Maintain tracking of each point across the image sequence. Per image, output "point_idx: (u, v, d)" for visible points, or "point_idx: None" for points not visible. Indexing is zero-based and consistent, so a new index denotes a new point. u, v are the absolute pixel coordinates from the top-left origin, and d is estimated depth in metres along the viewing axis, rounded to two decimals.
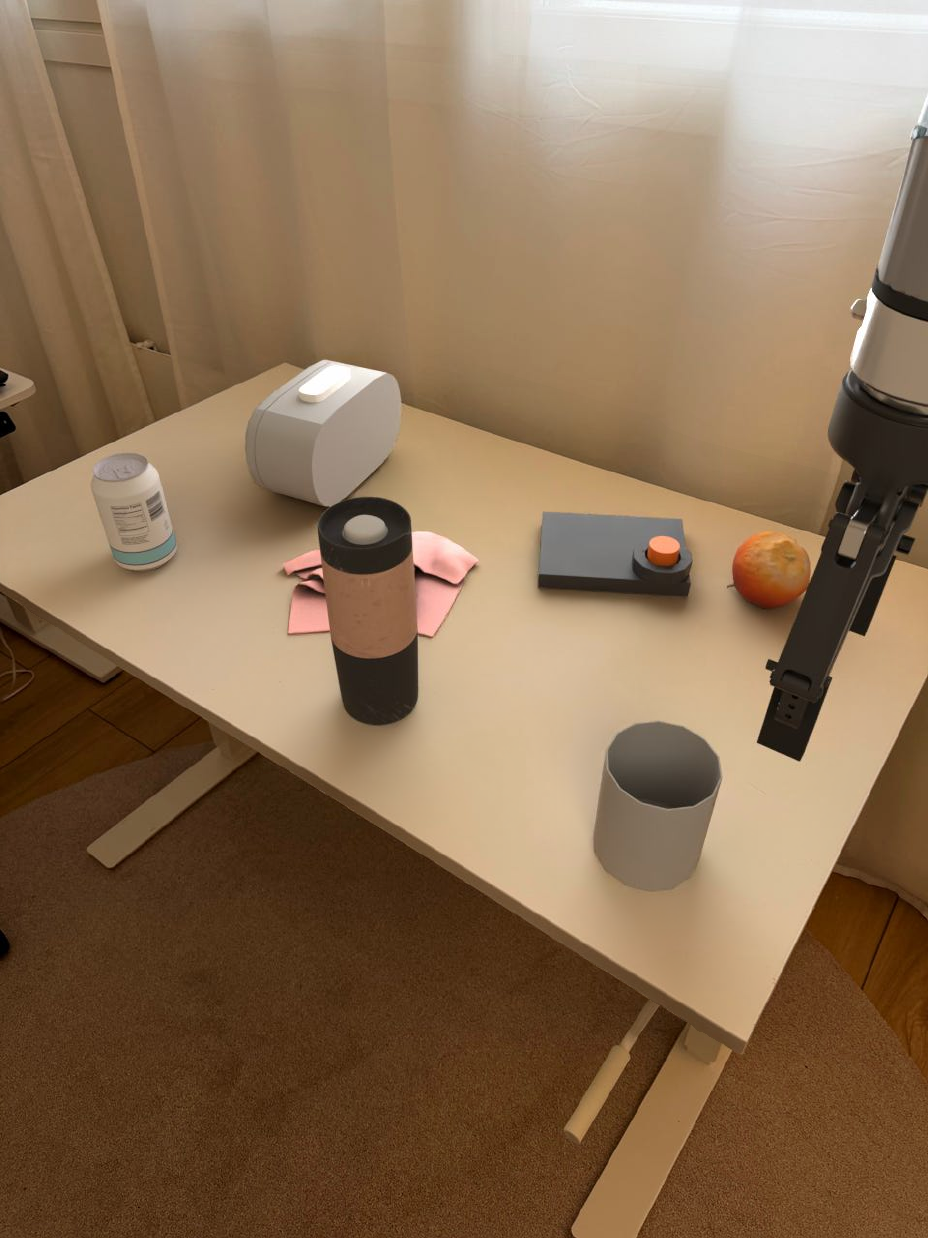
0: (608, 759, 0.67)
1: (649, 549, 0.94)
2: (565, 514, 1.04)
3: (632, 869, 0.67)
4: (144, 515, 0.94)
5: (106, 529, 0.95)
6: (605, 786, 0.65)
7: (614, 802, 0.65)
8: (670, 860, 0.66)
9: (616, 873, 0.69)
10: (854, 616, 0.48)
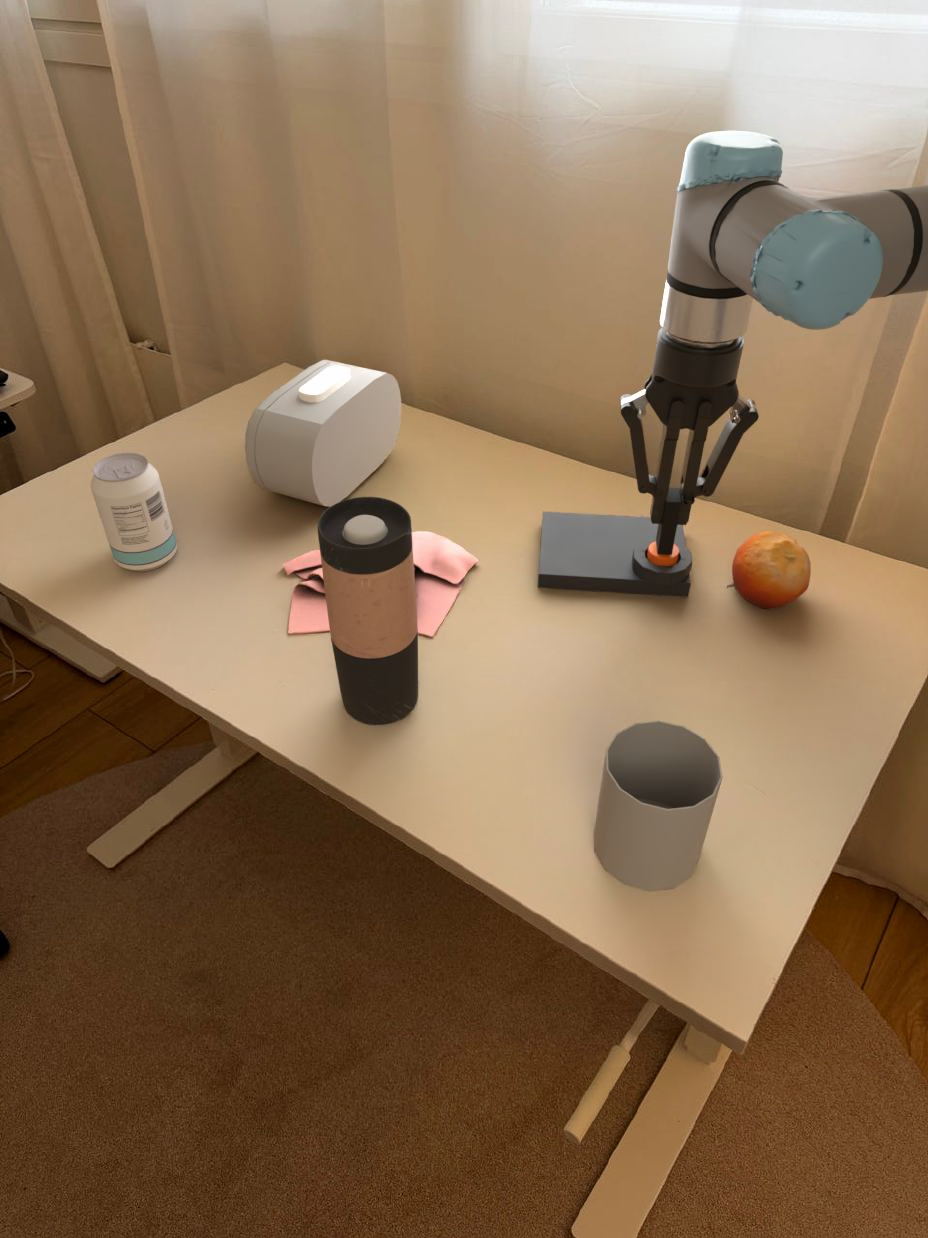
0: (608, 759, 0.67)
1: (648, 554, 0.94)
2: (565, 514, 1.04)
3: (632, 869, 0.67)
4: (144, 515, 0.94)
5: (106, 529, 0.95)
6: (605, 786, 0.65)
7: (614, 802, 0.65)
8: (670, 860, 0.66)
9: (616, 873, 0.69)
10: (668, 461, 0.86)
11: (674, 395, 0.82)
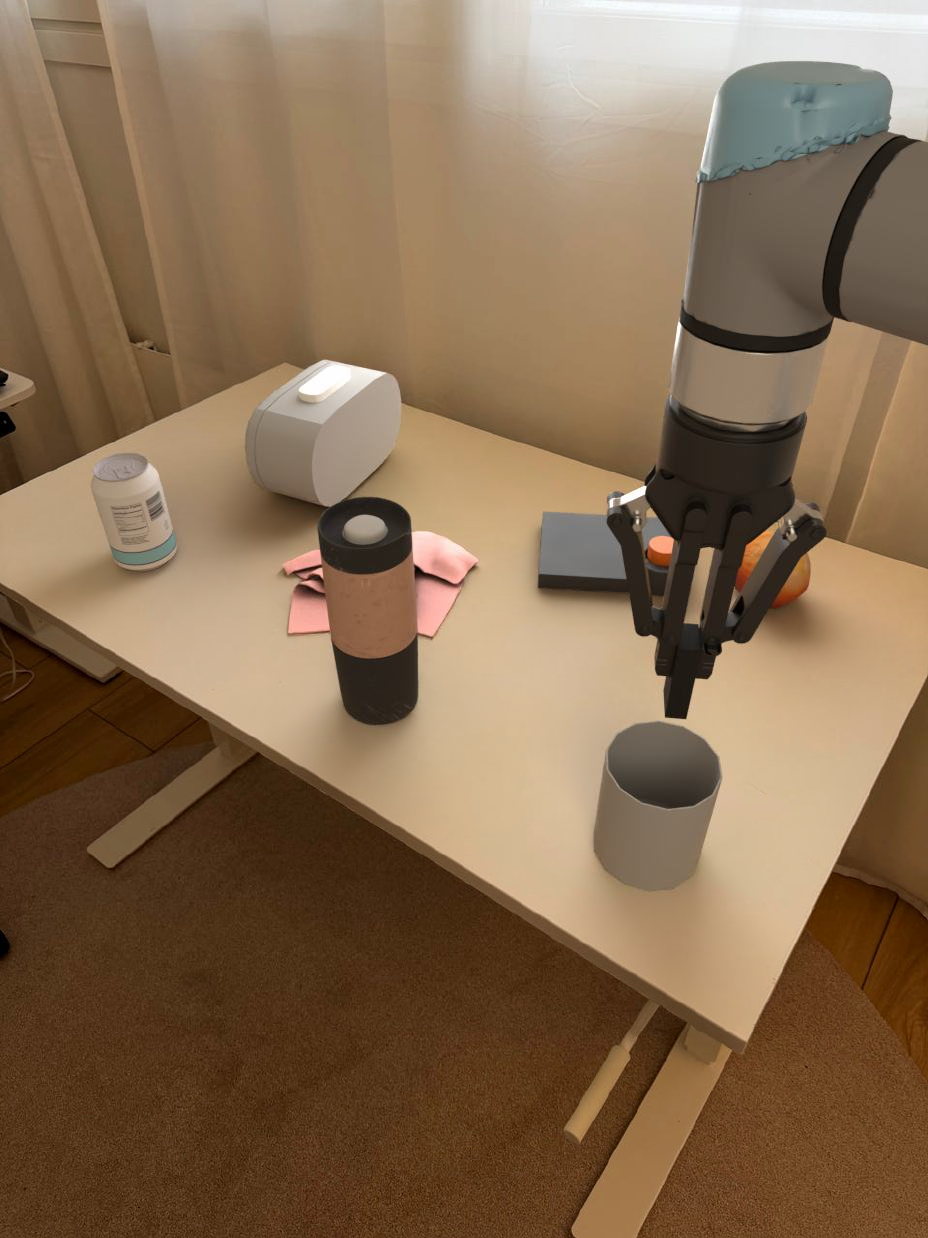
0: (608, 759, 0.67)
1: (649, 549, 0.94)
2: (565, 514, 1.04)
3: (632, 869, 0.67)
4: (144, 515, 0.94)
5: (106, 529, 0.95)
6: (605, 786, 0.65)
7: (614, 802, 0.65)
8: (670, 860, 0.66)
9: (616, 873, 0.69)
10: (681, 593, 0.56)
11: (691, 499, 0.51)
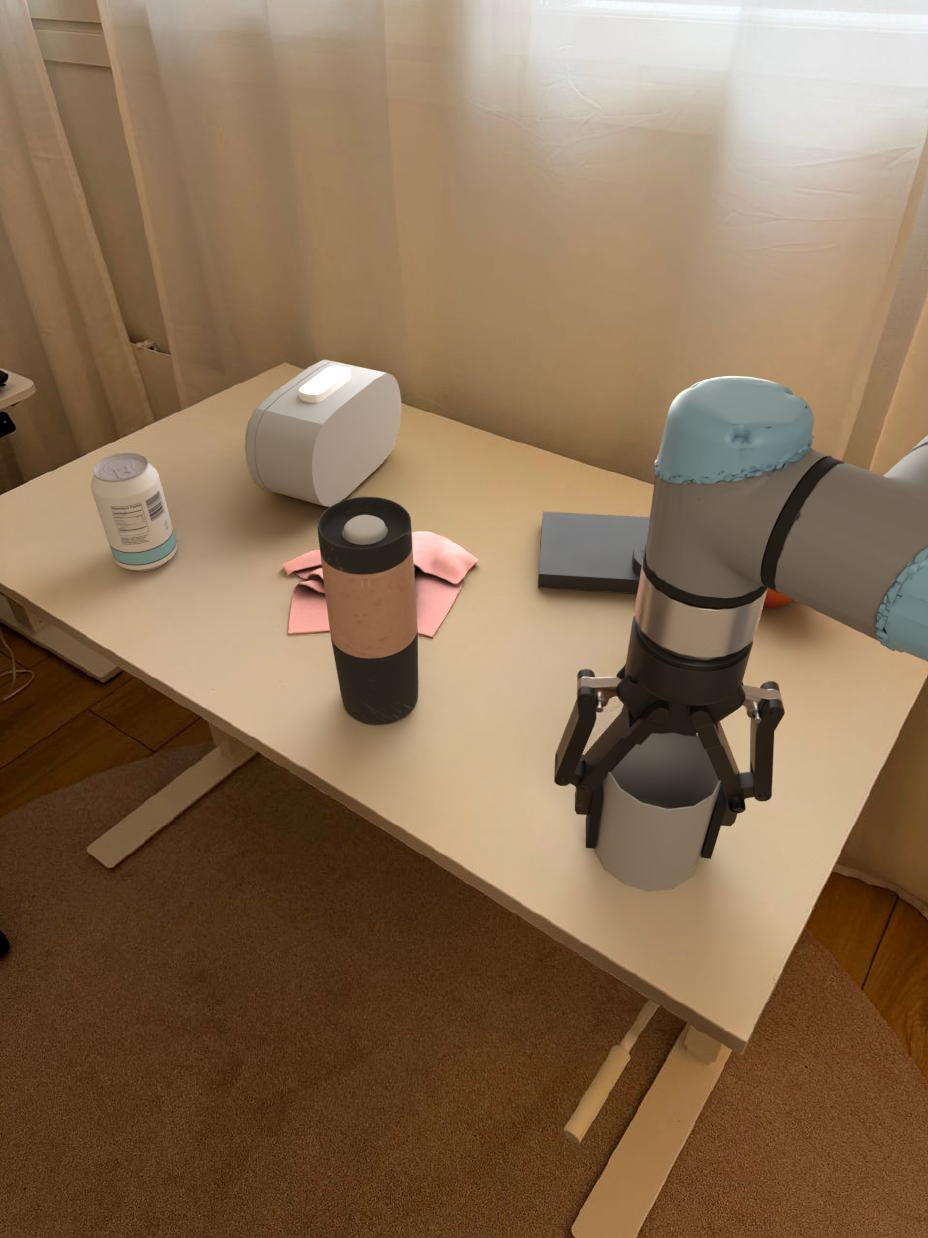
0: None
1: None
2: (565, 514, 1.04)
3: (632, 869, 0.67)
4: (144, 515, 0.94)
5: (106, 529, 0.95)
6: (605, 786, 0.65)
7: (614, 802, 0.65)
8: (670, 860, 0.66)
9: (616, 873, 0.69)
10: (614, 759, 0.63)
11: (661, 697, 0.59)
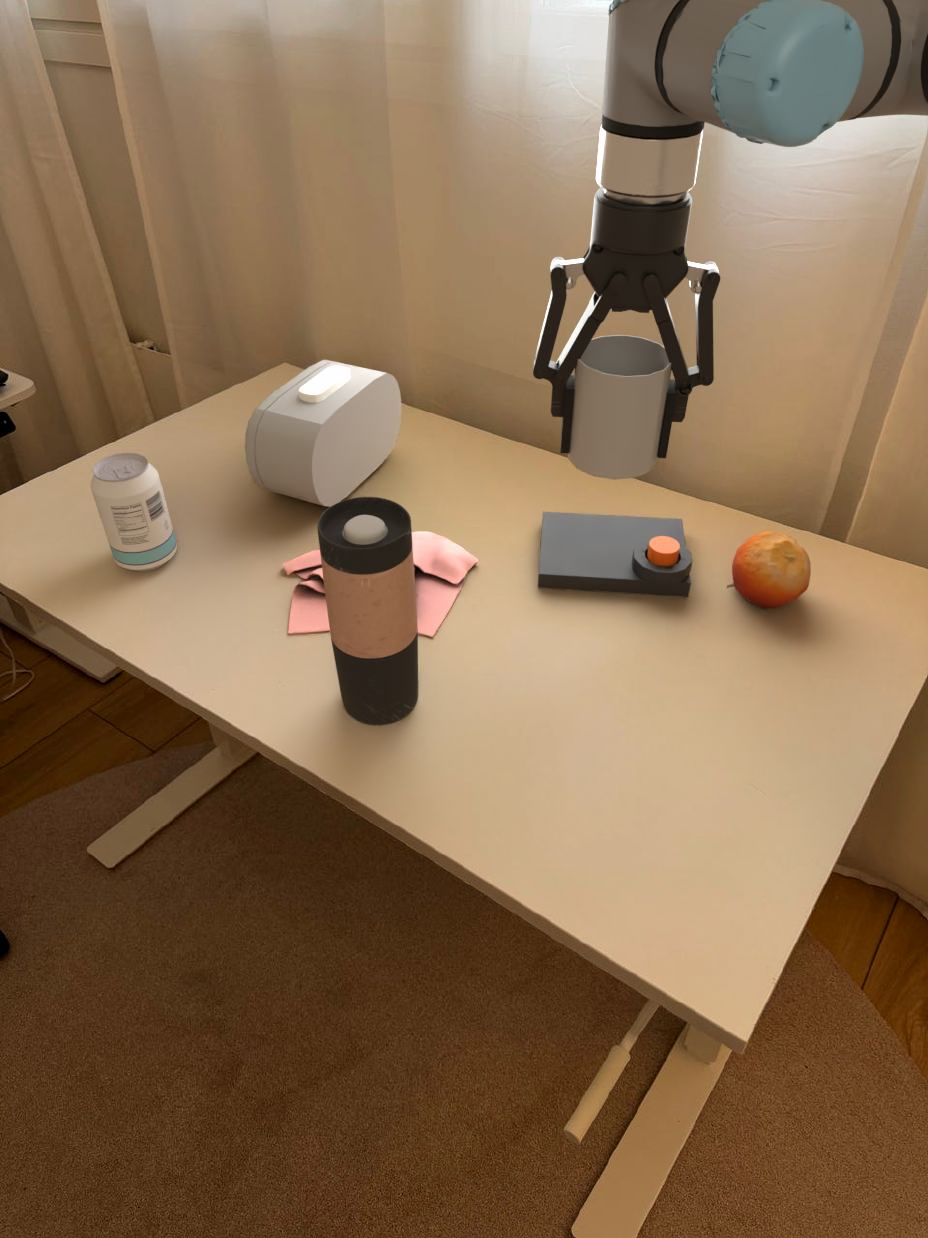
0: None
1: (649, 549, 0.94)
2: (565, 514, 1.04)
3: (599, 455, 0.80)
4: (144, 515, 0.94)
5: (106, 529, 0.95)
6: (575, 377, 0.78)
7: (583, 385, 0.77)
8: (630, 441, 0.79)
9: (586, 466, 0.81)
10: (582, 343, 0.76)
11: (619, 267, 0.72)
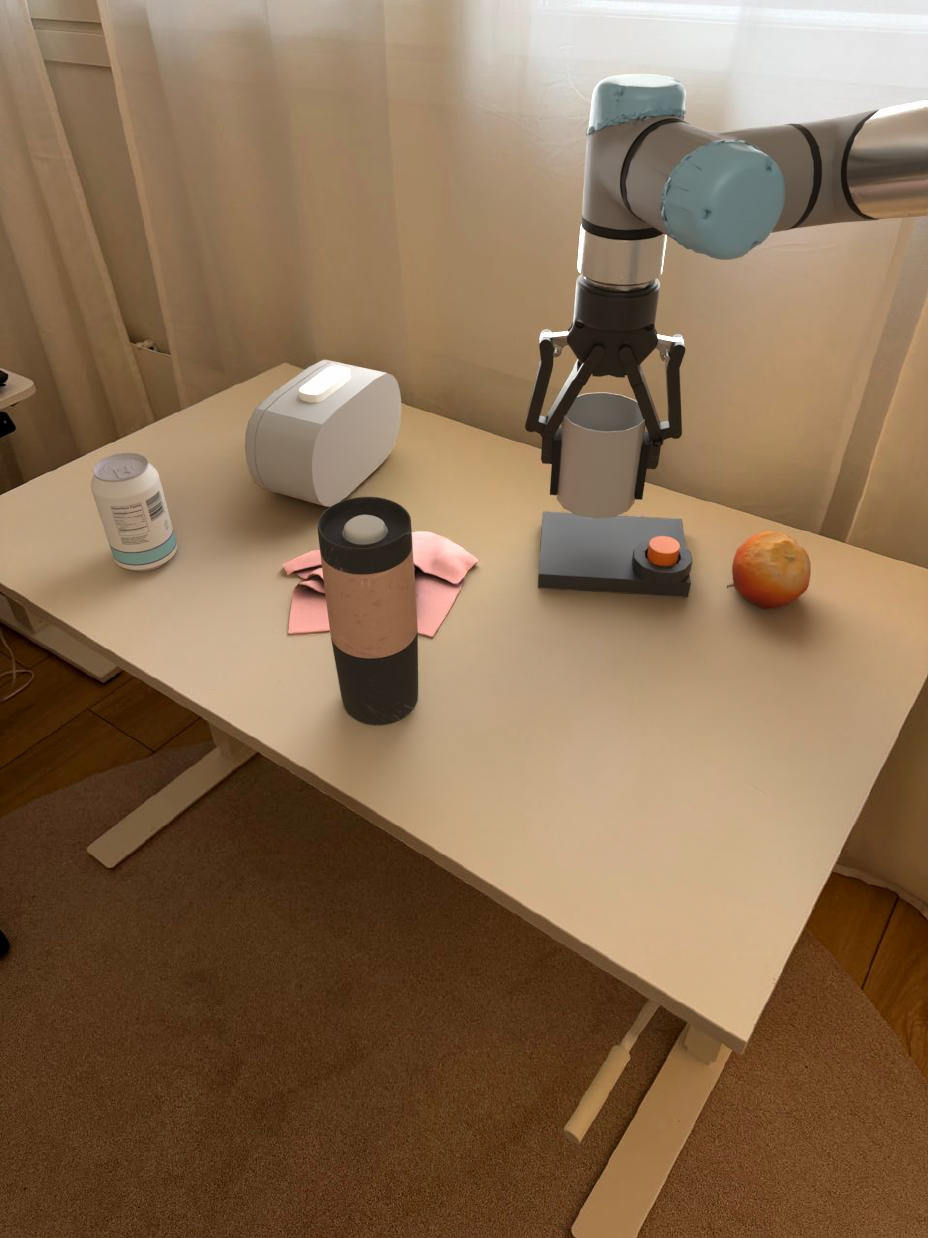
0: None
1: (649, 549, 0.94)
2: (565, 514, 1.04)
3: (582, 498, 0.91)
4: (144, 515, 0.94)
5: (106, 529, 0.95)
6: (562, 430, 0.90)
7: (568, 438, 0.89)
8: (609, 486, 0.90)
9: (571, 507, 0.93)
10: (567, 402, 0.88)
11: (598, 340, 0.83)
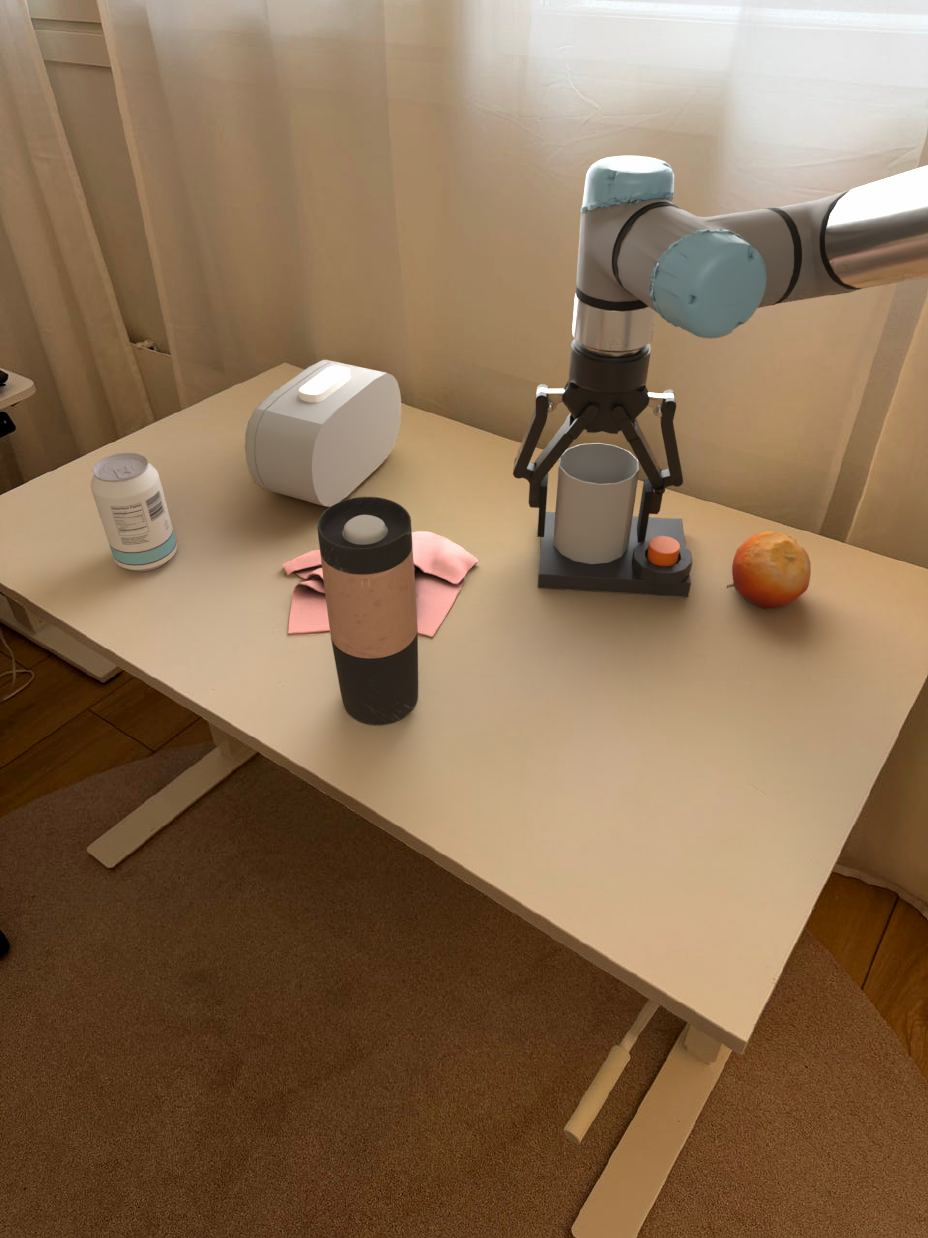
0: (561, 467, 0.95)
1: (649, 549, 0.94)
2: None
3: (578, 544, 0.95)
4: (144, 515, 0.94)
5: (106, 529, 0.95)
6: (558, 481, 0.94)
7: (564, 489, 0.93)
8: (604, 534, 0.94)
9: (568, 553, 0.97)
10: (557, 453, 0.91)
11: (593, 399, 0.87)
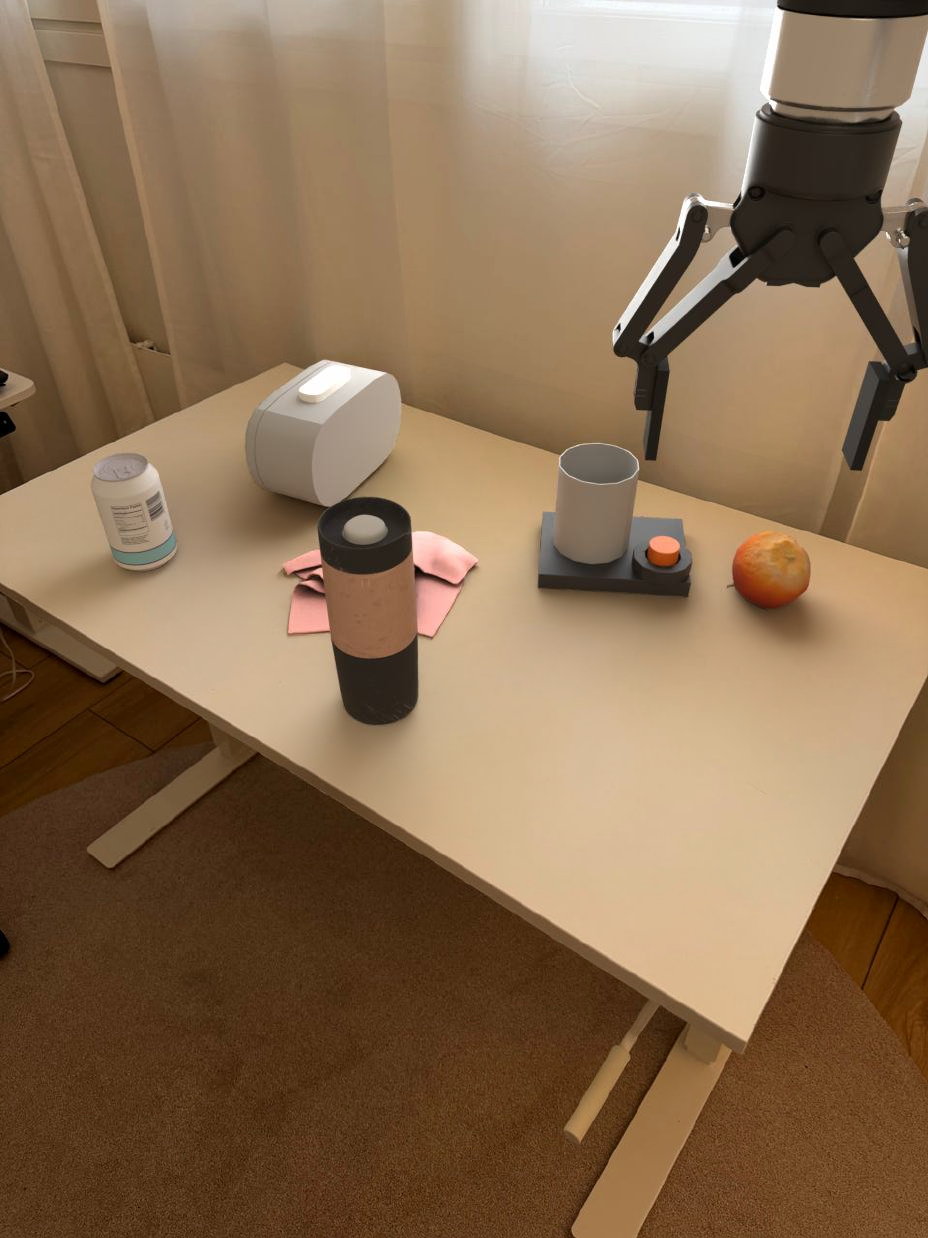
0: (561, 467, 0.95)
1: (649, 549, 0.94)
2: None
3: (578, 544, 0.95)
4: (144, 515, 0.94)
5: (106, 529, 0.95)
6: (558, 481, 0.94)
7: (564, 489, 0.93)
8: (604, 534, 0.94)
9: (568, 553, 0.97)
10: (698, 316, 0.54)
11: (788, 222, 0.50)
